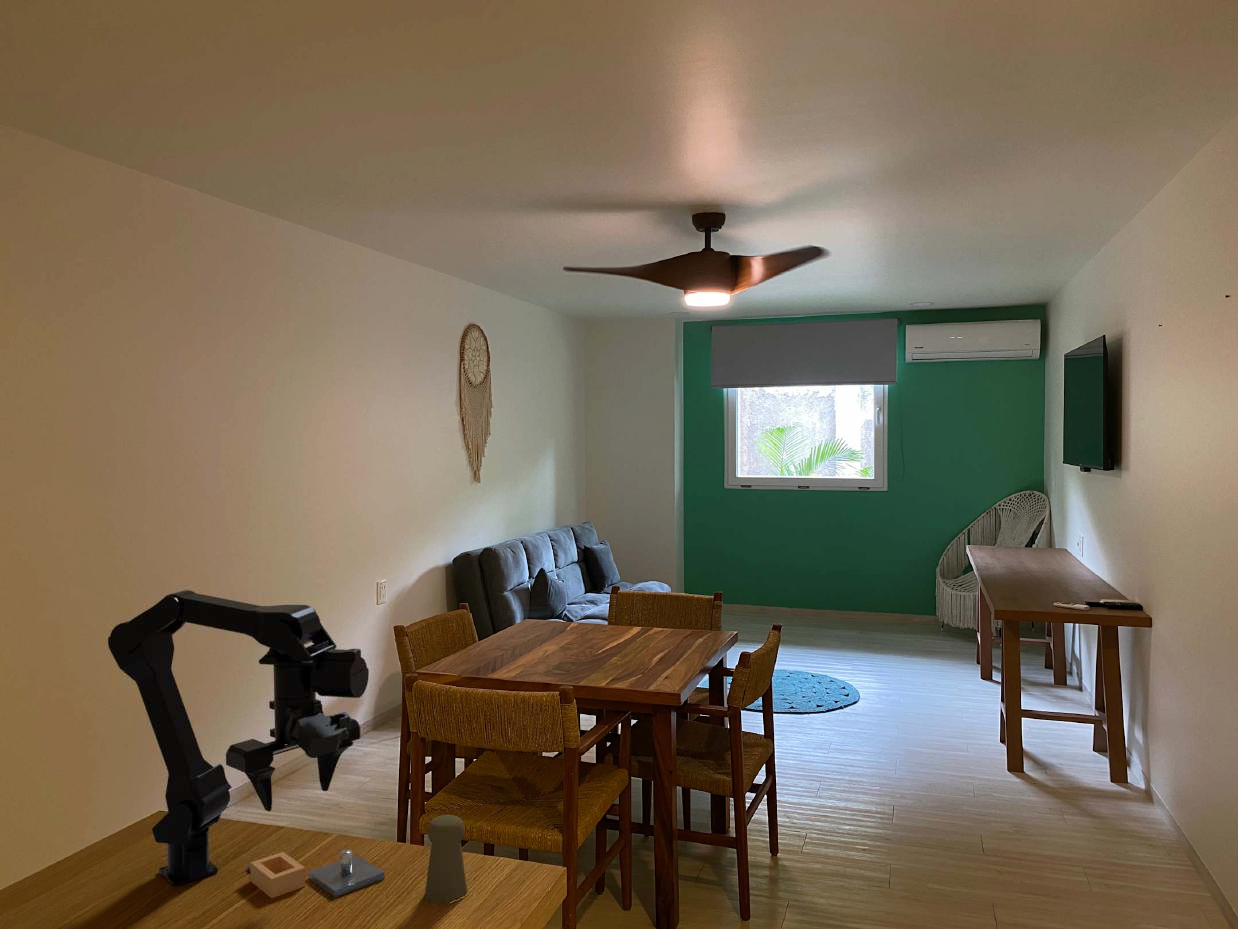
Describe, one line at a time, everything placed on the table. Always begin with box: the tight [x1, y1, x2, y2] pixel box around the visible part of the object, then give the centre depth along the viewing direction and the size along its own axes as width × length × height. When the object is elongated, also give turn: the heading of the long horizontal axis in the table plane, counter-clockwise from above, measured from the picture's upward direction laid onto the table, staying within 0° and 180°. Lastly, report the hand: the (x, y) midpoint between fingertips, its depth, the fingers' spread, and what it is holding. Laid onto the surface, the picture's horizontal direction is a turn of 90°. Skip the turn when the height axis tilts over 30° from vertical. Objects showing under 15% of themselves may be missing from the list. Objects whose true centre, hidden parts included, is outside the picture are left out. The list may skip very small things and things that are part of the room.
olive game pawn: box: [424, 814, 468, 905], centre depth 134 cm, size 6×6×11 cm
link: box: [249, 851, 306, 899], centre depth 137 cm, size 7×5×3 cm
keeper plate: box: [307, 849, 386, 898], centre depth 139 cm, size 8×8×4 cm
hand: (297, 800), depth 136 cm, fingers open, 9 cm apart
